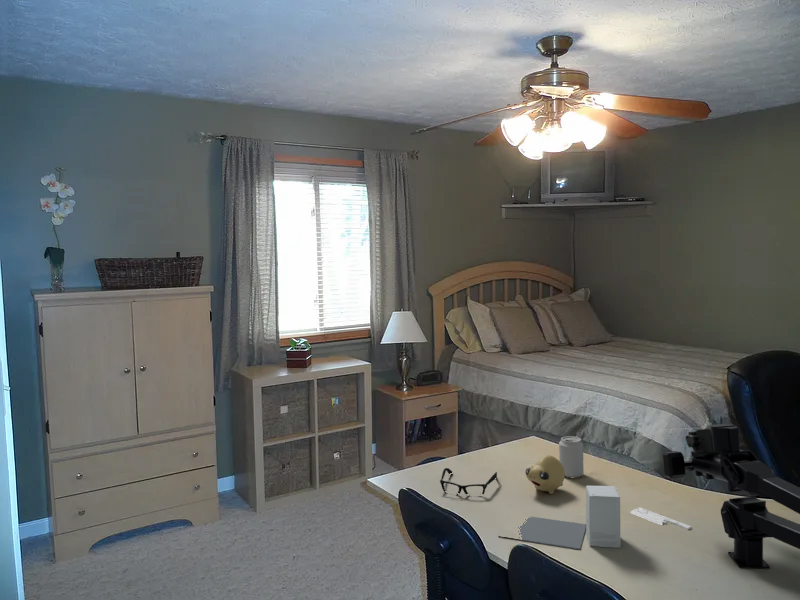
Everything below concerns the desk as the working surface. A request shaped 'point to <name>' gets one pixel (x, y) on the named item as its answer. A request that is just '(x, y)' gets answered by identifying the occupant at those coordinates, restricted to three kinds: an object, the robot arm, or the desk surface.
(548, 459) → the beige rounded figure
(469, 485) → the glasses
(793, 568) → the desk surface
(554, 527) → the mat
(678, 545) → the desk surface
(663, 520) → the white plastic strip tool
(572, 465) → the can
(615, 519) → the supplement box
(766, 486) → the robot arm
